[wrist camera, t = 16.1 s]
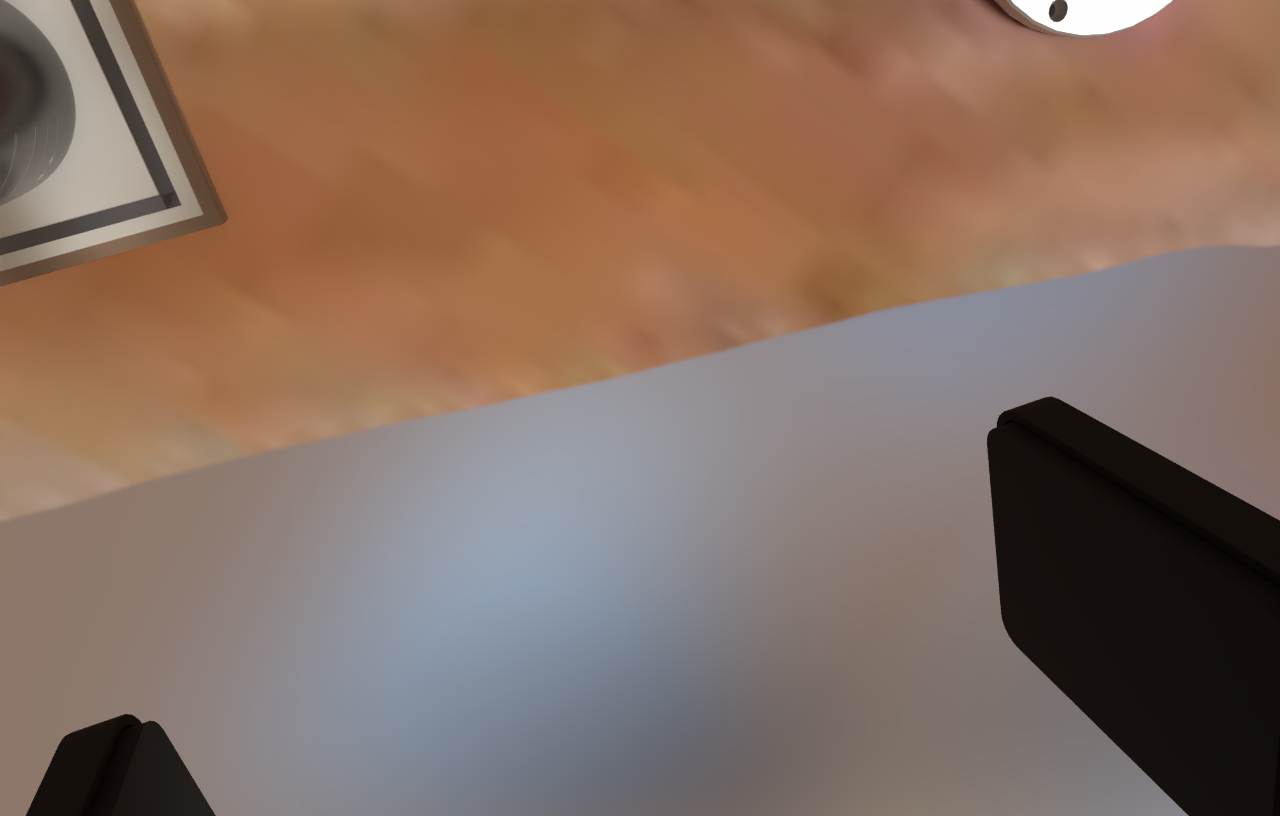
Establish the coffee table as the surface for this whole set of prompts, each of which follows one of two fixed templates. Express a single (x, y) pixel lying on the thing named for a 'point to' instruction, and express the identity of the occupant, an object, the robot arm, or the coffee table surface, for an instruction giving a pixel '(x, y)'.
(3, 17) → the supplement bottle
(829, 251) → the coffee table surface
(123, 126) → the white square tile
